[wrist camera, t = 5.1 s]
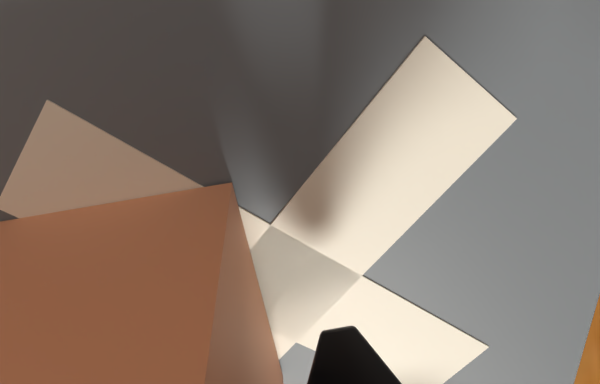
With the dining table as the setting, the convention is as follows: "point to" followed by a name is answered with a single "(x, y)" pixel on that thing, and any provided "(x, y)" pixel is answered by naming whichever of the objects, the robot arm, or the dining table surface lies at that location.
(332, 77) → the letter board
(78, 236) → the terracotta block
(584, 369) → the dining table surface
